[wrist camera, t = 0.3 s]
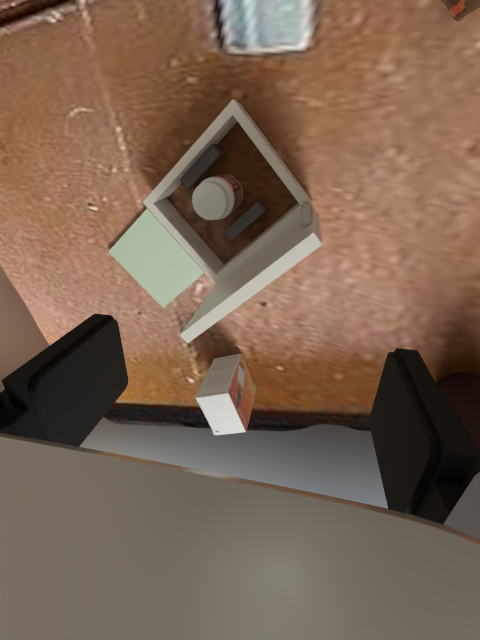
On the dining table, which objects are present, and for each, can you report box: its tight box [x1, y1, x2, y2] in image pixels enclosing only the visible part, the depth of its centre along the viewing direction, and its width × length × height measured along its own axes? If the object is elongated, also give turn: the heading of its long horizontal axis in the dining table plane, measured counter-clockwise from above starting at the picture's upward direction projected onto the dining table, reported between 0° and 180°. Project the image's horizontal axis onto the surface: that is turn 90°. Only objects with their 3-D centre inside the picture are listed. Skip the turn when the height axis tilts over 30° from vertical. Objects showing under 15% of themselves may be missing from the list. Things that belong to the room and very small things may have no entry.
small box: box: [195, 353, 257, 435], centre depth 51 cm, size 8×6×10 cm
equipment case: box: [143, 99, 323, 343], centre depth 34 cm, size 15×16×18 cm
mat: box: [108, 208, 204, 307], centre depth 48 cm, size 12×10×1 cm
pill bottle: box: [192, 174, 243, 220], centre depth 38 cm, size 5×5×8 cm
